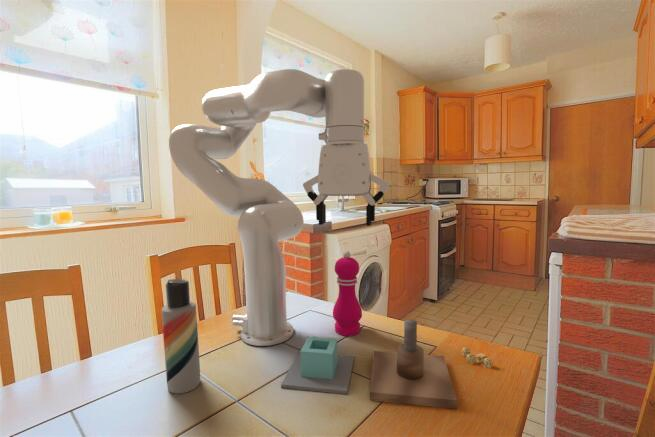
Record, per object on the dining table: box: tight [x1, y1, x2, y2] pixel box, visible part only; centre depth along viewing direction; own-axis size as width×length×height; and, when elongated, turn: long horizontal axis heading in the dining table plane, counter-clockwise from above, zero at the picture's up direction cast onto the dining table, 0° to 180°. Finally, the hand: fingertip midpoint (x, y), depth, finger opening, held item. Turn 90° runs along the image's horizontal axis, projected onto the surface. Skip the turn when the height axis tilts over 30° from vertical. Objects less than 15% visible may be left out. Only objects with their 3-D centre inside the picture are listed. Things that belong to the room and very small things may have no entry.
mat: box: [280, 351, 355, 395], centre depth 66 cm, size 12×12×1 cm
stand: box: [369, 318, 458, 410], centre depth 63 cm, size 14×14×11 cm
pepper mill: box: [332, 250, 363, 337], centre depth 83 cm, size 7×7×20 cm
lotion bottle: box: [161, 278, 201, 395], centre depth 62 cm, size 6×6×20 cm
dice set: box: [461, 347, 493, 369], centre depth 70 cm, size 5×5×2 cm
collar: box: [300, 336, 339, 380], centre depth 66 cm, size 6×6×5 cm
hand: (345, 224), depth 69 cm, fingers open, 9 cm apart
